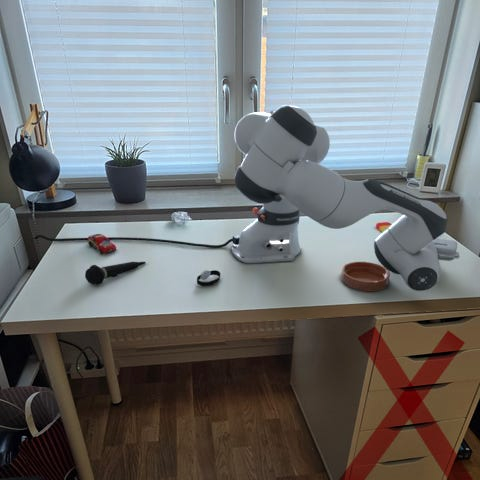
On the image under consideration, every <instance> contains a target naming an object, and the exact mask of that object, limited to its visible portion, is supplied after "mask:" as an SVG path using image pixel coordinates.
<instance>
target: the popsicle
mask: <svg viewBox="0 0 480 480" xmlns="http://www.w3.org/2000/svg"><path fill="white" fill-rule="evenodd" d="M392 224H393V223H390V222H388V221H383V222H377V223H376V224H375V229H377V230H378V231H379V232H380V233H382V232H383V231H384V230H385V229H387V228H388V227H389V226H390V225H392Z"/></svg>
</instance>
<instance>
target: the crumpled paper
mask: <svg viewBox="0 0 480 480" xmlns="http://www.w3.org/2000/svg"><path fill="white" fill-rule="evenodd" d="M170 216H171V221H175V223H176V224H177V225H178V226H181V225H182V224H183V223H186V222H189V221H192V219H193V218H191V217H190V216H189V215H188V212H185V211H177V212H175V211H174V212H173V213H172V214H171V215H170Z"/></svg>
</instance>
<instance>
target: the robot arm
mask: <svg viewBox="0 0 480 480" xmlns="http://www.w3.org/2000/svg"><path fill="white" fill-rule="evenodd" d="M234 141H235V142H234V143H235V145H236V147H237V148H238V149H239V151H240V152H241V153H243V154H244V155H245V156H244V158H243V161H242V163H241V165H238V167H237V170H236V172H235V175H234V178H233V181H234V184H235V187H236V188H237V190H238V191H239V192H240V193H241V195H243V196H244V197H245V198H246V199H247V200H249V201H252V202H253V203H257V204H261V205H262V204H263V205H262V207H261V208H260V209H259V208H258V207H257V206H255V207H253V208H252V213H253V214H254V215H255V216H257V219H255V220H254V221H253V222H251V223H250V224H249V225H248V226H247V227H245V228H244V229H242V230H241V231H240V234H236V235H232V238H230V239H228V240H227V241H226V242H224V243H222V244H215V245H214V244H205V243H195V242H187V241H180V240H171V239H160V238H148V237H126V236H124V237H122V236H121V237H119V236H111V237H110V236H109V237H108V236H106V237H107V238H108V239H109V240H110V239H111V240H110V241H143V242H155V243H156V242H157V243H168V244H177V245H184V246H189V247H191V246H192V247H201V248H209V249H219V248H224V247H227V246H228V245H229V244H230V243H232V246H231V253H232V254H233V256H234V257H235V258H236V259H237V260H238V261H240V262H242V263H244V264H259V263H260V264H262V263H280V262H291V261H292V262H293V260H294V259H295V257H296V256H298V255H299V254H300V253H301V247H300V241H299V223H300V217H301V216H300V215H301V213H302V214H304V215H305V216H307V217H308V218H310V219H311V220H312V221H315V222H316V223H318V224H319V225H321V226H323V227H325V228H328V229H334V230H339V229H345V228H348V227H350V226H352V225H354V224H356V223H358V222H359V221H361V220H362V219H364V218H366V217H368V216H370V215H373V214H374V213H377V212H379V211H383V210H389V211H392V212H395V213H398V214H399V215H400V216H399V217H398V218H397V219H396V220H395V221H394V222H392V223H391V224H392V225H390V226H389V227H388V228H387V229H385V230H384V231H383V232H380V233H379V234H378V235H377V236H376V237H375V239H374V242H373V250H374V254H375V257H376V259H377V260H378V262H379V263H380V265H381V266H383V267H384V268H386V269H387V270H388V271H389V272H390V273H392V274H396V275H401V277H402V278H403V280H404V283H405V284H406V286H408V287H409V289H411V290H413V291H417V292H422V291H423V292H424V291H427V290H430V289H432V288H433V287H435V285H436V284H437V283H438V282H439V280H440V277H441V264H440V261H446V262H450V261H453V260H457V259H460V253H459V252H458V251H457V250H458V242H457V241H456V240H453V239H444V238H439V237H440V236H442V235H443V234H445V233H446V229H447V226H448V216H447V214H446V212H445V211H444V210H443V208H441V206H440V205H438V204H437V203H435V202H433V201H432V200H429V199H426V198H421V197H418V196H416V195H413V194H411V193H409V192H407V191H404V190H403V189H399V188H397V187H395V186H393V185H390V184H388V183H385V182H384V181H381V180H378V179H374V178H367V179H364V180H351V179H347V178H344V177H342V176H341V175H340V174H338V173H336V172H335V171H333V170H332V169H330V168H328V167H326V166H324V165H322V164H320V163H322V162H323V161H324V159H326V157H327V155H328V153H329V150H330V143H331V141H330V137H329V133H328V131H327V130H326V128H324V127H323V126H319V125H316V124H315V122H314V119H312V117H311V115H310V114H309V113H308V112H307V111H305V110H304V109H302V108H301V107H298V106H295V105H291V104H284V105H281V106H279V107H278V108H277V109H276V110H274V109H272V110H270V111H269V113H267V112H263V111H262V112H261V111H259V112H257V111H256V112H251V113H247V114H245V115H244V116H242V117H241V118H240V120H238V122H237V124H236V126H235V129H234ZM39 238H42V239H44V240H46V241H51V242H75V241H76V242H77V241H78V242H80V241H88V237H70V238H69V237H67V238H55V237H54V238H51V237H48V236H46V235H43V234H36V235H35V236H34V238H33V240H37V239H39Z"/></svg>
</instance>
